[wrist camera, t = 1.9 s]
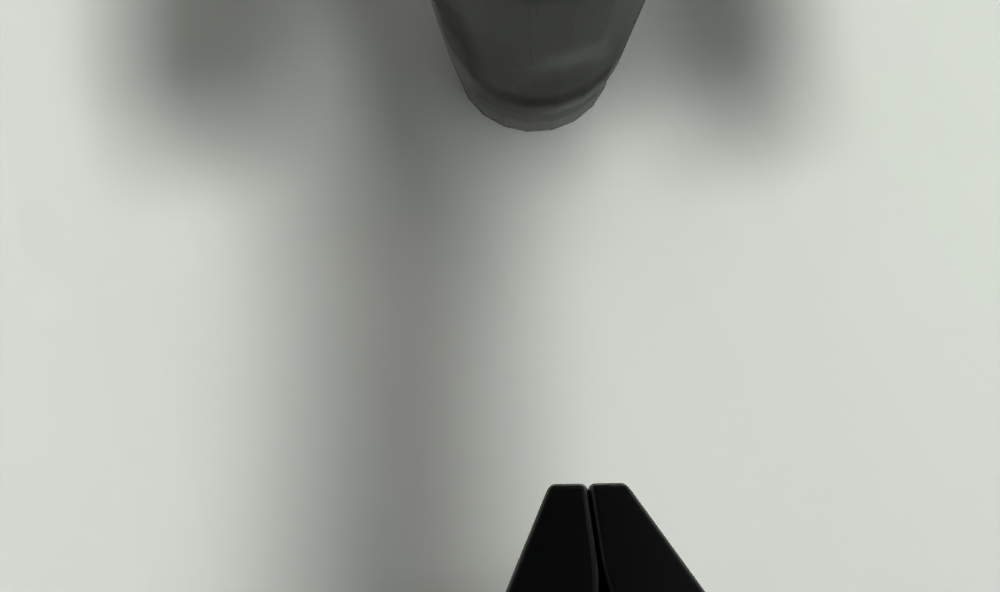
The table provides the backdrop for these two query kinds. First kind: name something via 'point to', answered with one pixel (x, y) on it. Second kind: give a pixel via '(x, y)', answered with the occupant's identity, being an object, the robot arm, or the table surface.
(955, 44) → the table surface
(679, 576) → the robot arm
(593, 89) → the beverage cup
